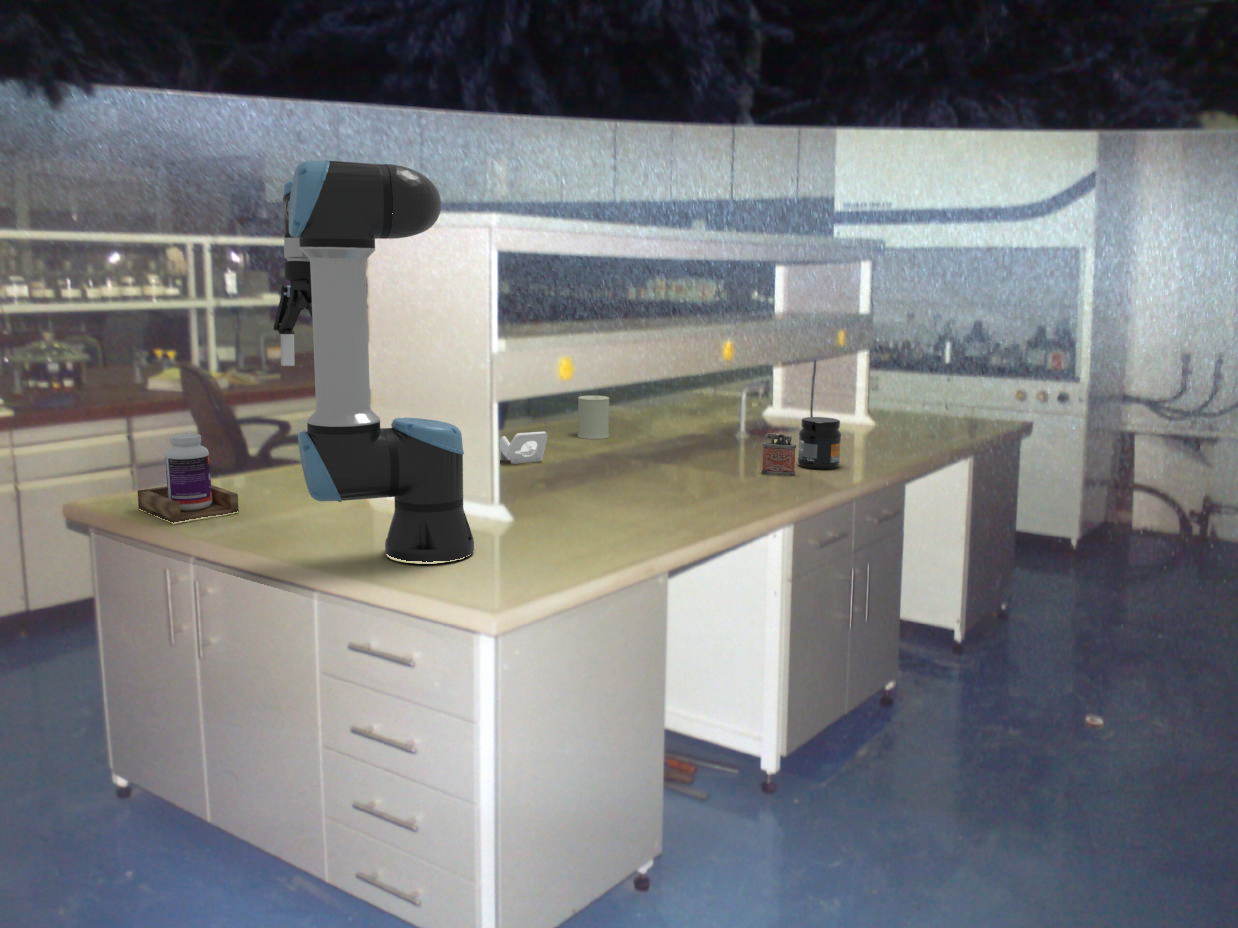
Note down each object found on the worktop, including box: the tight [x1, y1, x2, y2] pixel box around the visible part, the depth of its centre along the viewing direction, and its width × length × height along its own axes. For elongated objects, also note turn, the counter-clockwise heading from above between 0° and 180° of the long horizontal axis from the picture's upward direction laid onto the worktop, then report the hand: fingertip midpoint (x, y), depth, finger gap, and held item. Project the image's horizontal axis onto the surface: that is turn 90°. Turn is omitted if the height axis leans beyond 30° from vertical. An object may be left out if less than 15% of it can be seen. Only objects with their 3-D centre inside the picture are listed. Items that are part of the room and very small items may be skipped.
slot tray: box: [137, 484, 240, 523], centre depth 206 cm, size 16×13×4 cm
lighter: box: [761, 433, 797, 477], centre depth 252 cm, size 8×3×10 cm, turn 74°
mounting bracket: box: [499, 430, 549, 465], centre depth 263 cm, size 12×6×11 cm, turn 120°
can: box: [577, 395, 610, 440], centre depth 302 cm, size 9×9×12 cm
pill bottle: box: [164, 433, 212, 511], centre depth 205 cm, size 8×8×14 cm
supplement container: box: [797, 416, 842, 471], centre depth 263 cm, size 10×10×12 cm
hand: (305, 367), depth 212 cm, fingers open, 13 cm apart
